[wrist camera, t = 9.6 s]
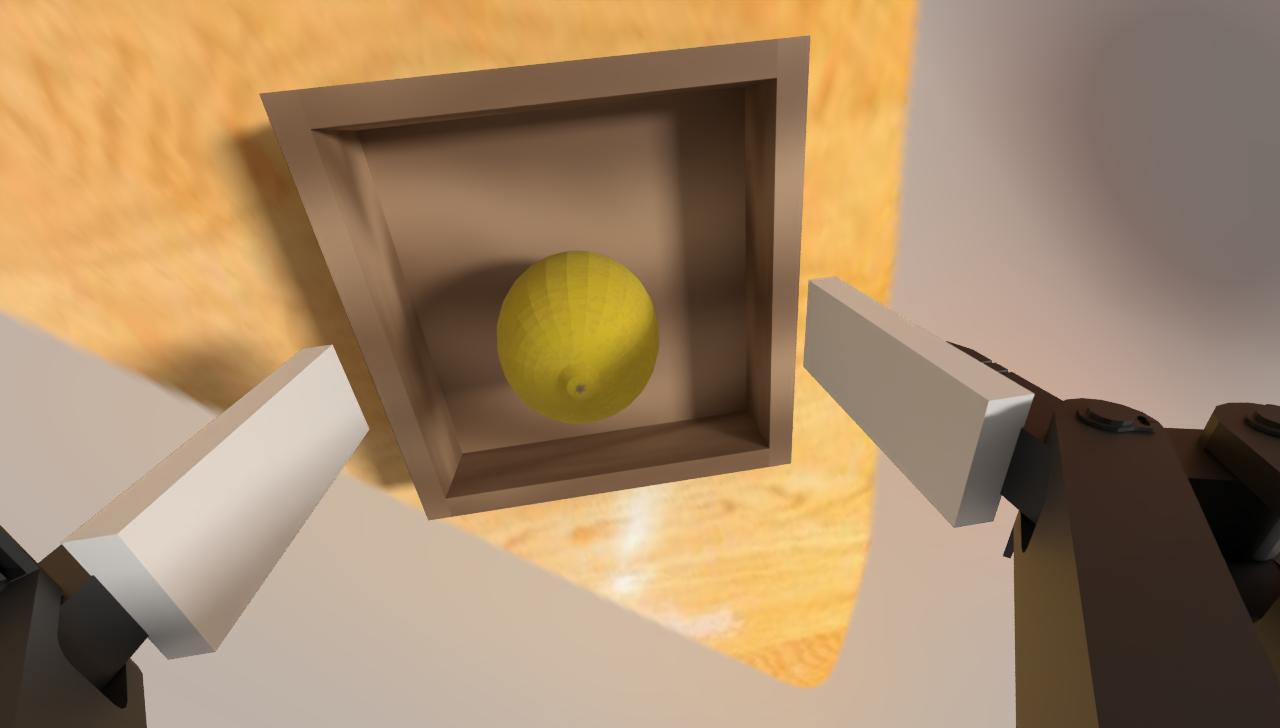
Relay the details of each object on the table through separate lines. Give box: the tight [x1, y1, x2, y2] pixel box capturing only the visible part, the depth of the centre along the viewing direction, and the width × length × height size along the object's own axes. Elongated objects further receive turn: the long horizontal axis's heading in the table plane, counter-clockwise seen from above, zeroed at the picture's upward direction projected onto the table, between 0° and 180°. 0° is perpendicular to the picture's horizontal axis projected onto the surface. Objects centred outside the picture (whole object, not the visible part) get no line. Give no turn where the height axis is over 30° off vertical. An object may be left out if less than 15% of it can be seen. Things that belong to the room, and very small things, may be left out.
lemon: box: [497, 251, 659, 424], centre depth 17 cm, size 6×6×8 cm
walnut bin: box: [259, 36, 810, 520], centre depth 19 cm, size 16×16×4 cm
